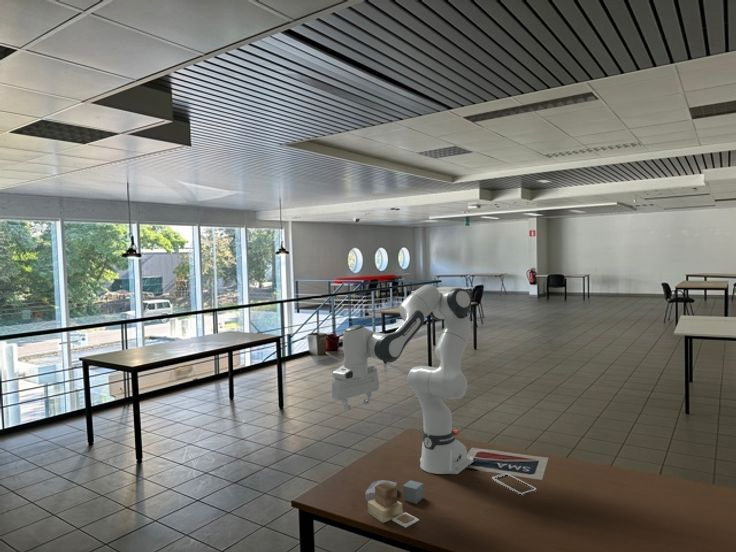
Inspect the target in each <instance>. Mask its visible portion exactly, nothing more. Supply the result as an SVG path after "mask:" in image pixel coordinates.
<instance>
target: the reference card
mask: <svg viewBox="0 0 736 552" xmlns="http://www.w3.org/2000/svg"><path fill="white" fill-rule="evenodd" d="M391 521H393V522H394V523H396V524H398V525H400V526H401V527H404V528H408V527H410V526H411V525H413V524H415V523H417V522H419V521H420V519H419V518H417V517H416V516H413V515H411V514H410V513H408V512H406V511H405V512H403V514H401V515H399V516H397V517H395V518H393V519H392V520H391Z"/></svg>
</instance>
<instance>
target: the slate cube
mask: <svg viewBox="0 0 736 552" xmlns="http://www.w3.org/2000/svg"><path fill="white" fill-rule="evenodd" d="M402 495H403V497H402V499H403V501H406V502H408V503H412V504H416V505H417V504H418V503H419V502H420V501H421V500H423V499H424V483H423V482H418V481H415V480H412V479H409V481H408V482H407V481H406V483H404V484H403V485H402Z"/></svg>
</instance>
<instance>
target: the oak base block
mask: <svg viewBox="0 0 736 552" xmlns="http://www.w3.org/2000/svg"><path fill="white" fill-rule="evenodd" d="M367 513H368V514H369V515H371V516H372V517H373V518H375V519H376V520H378V521H379V522H380V523H382V524H384V523H386V522H389V521H392V519H393V518H395V517H397V516H399V515H401V514H403V513H404V511H403V502H400V501H398V500H397V502H396V503H394V504H392V505H390V506H387V507H384V506H382V505H381V504H379V503H377V502H375V499H373V500H371V501H368V502H367Z"/></svg>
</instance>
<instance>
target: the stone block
mask: <svg viewBox="0 0 736 552" xmlns="http://www.w3.org/2000/svg"><path fill="white" fill-rule="evenodd" d="M384 482H389V483H391V484H392V485H394V486H396V487H397V490H398V482H394V481H390V480H383V479H382V480H376V481H373V482H372V483H371V484H370V485H369V486H368V488H367V490H365V494H364V496H365V497H364V499H365V501H366V503H368V501H371V500H373V499H375V486H377V485H379V484H382V483H384Z"/></svg>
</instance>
